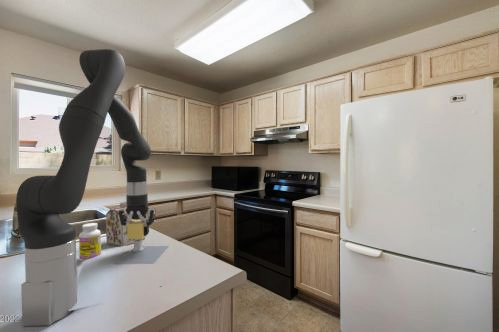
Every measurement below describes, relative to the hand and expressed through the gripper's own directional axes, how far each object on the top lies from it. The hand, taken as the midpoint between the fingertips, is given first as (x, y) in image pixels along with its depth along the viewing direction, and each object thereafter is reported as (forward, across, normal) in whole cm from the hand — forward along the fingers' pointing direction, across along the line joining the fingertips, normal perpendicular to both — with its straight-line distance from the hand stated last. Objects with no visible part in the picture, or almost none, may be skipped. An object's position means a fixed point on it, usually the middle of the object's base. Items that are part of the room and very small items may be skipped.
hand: (137, 235), depth 89 cm
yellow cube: (0, 0, 0) cm, 0 cm away
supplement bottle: (+7, +16, +4) cm, 18 cm away
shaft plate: (+7, -4, +4) cm, 9 cm away
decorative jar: (+7, +12, -14) cm, 20 cm away
